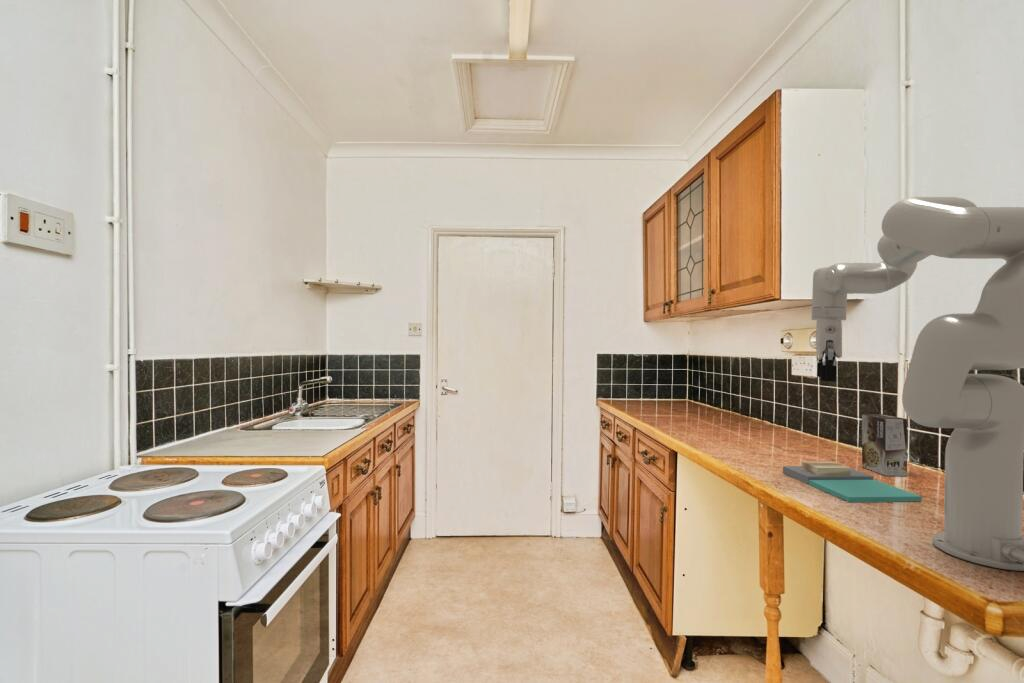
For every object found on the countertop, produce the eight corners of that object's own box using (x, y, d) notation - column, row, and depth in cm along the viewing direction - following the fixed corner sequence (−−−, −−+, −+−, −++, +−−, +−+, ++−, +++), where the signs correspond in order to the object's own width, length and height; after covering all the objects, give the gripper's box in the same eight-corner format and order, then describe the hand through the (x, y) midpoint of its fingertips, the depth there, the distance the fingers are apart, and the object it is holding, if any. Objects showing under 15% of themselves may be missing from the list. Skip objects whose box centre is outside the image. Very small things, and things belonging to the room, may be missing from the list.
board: (873, 483, 119) (873, 476, 119) (807, 484, 118) (807, 476, 118) (843, 472, 129) (843, 465, 129) (782, 473, 128) (782, 466, 128)
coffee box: (908, 476, 126) (909, 418, 126) (885, 476, 126) (885, 418, 126) (882, 467, 135) (882, 413, 135) (860, 467, 135) (861, 413, 135)
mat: (921, 501, 106) (921, 496, 106) (848, 502, 105) (848, 497, 105) (874, 484, 119) (874, 479, 119) (808, 484, 118) (808, 480, 118)
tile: (850, 475, 120) (850, 467, 120) (817, 475, 119) (817, 467, 119) (833, 468, 126) (833, 461, 126) (802, 469, 125) (802, 461, 125)
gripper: (851, 314, 110) (848, 383, 111) (841, 315, 125) (838, 376, 126) (814, 314, 114) (811, 381, 114) (809, 315, 129) (806, 374, 129)
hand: (826, 379), depth 120 cm, fingers open, 9 cm apart
